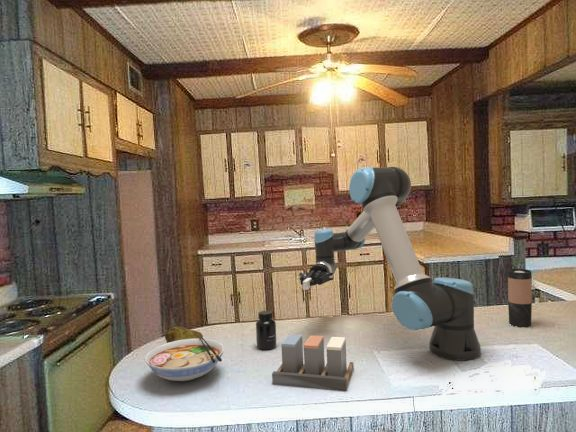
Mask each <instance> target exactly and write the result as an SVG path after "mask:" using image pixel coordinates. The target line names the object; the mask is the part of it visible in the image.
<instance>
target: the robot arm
mask: <svg viewBox="0 0 576 432" xmlns="http://www.w3.org/2000/svg"><path fill="white" fill-rule="evenodd" d="M348 190H349V196H350V198H351V200H352V202H354V203H356V204H359V205H361V207H362V210H363V211H362V212H361V213H360V214H359V216H358V217H357V218H356V219H355V220H354V221H353V223H352V224H350V226H349V227H348V228H347V229H346V230H345V231H344V232H342V231H341V232H333V230H332V228H331V229H330V228H329V229H328V228H325V229H318V230H315V231H314V236H313V237H314V241H313V242H314V250H315V264H314V265H312V266H311V267H310V268H309V270H308V272H306V273H305V272H304V273H302V272H299V273H298V275H299V276H298V277H299V281H300V285H301V286H302V289H303V290H305V291H306V290H307V291H308V290H309V289H311V288H312V287H313V286H316V285H317V286H321V285H323V284H326V283H327V282H330V281H333V280H334V274H335V273H336V271H337V263H336V260H335V253H337V252H344V251H349V250H350V251H351V250H358V249H361V248H363V247H364V245H365V242H366V237H367V236H368V235H369V234H370V233H371V232H372V231H373V230H374V229H375V230H376V232H377V233H376V234H377V235H378V238H379V241H380V243H381V246H382V249H383V252H384V254H385V257H386V260H387V261H388V262H387V263H388V264H389V267H390V269H391V272H392V275H393V277H394V280H395V285H394V288H393V292H394V296H392V301H391V303H392V304H391V309H392V312H393V315H394V317H395V319H396V320H397V322H398V323H399V324H401V325H402V326H403V327H405V328H406V329H407V330H410V331H419V330H426V329H429V328H431V327H433V330H432V332H431V337H430V338H429V343H428V344H429V345H428V346H429V348H428V349H429V350H428V351H431V352H432V353H431V352H430V353H431V354H432V355H434V354H435V355H434V356H436V355H437V356H436V357H438V356H439V357H438V358H441V357H443V358H442V359H445V358H446V359H445V360H452V361H470V360H475V359H478V358H479V357H480V356H481V353H482V352H481V351H482V350H481V345H480V342H479V338H478V336H477V333H476V329H475V315H474V313H475V306H474V305H475V301H474V298H475V297H474V296H475V294H474V285H473V283H472V282H470V281H468V280H465V279H460V278H452V277H434V279H433V280H432V278H431V276H429V275H427V274H425V273H424V272H423V269H422V266H421V264H420V262H419V260H418V257H417V255H416V252H415V250H414V248H413V247H414V246H413V245H412V242H411V240H410V238H409V236H408V233H407V230H406V228H405V226H404V223H403V220H402V218H401V215H400V213H399V210H398V209H397V208H398V207H400V206H402V204H403V203H404V202H405V201H406V200H407V198H408V197H409V195H410V193H411V190H412V181H411V178H410V176H409V174H408V172H406V171H405V170H404V169H402V168H400V167H397V166H383V167H382V166H380V167H379V166H378V167H377V166H375V167H371V166H367V167H362V168H359V169H357V170H355V172H354V173H353V174H352V176H351V178H350V182H349V187H348Z"/></svg>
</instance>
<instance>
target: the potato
mask: <svg viewBox="0 0 576 432" xmlns="http://www.w3.org/2000/svg"><path fill="white" fill-rule="evenodd" d="M199 334H200V335H201V336H202V338H203V339H204V336H203V334H202V333H201V332H200V331H198V330H194V329H193V330H192V329H187V328H184V326H183V327H182V326H172V327H171V328H169V329H167V330H166V332H165V334H164V338H165V341H166V343H169V342H173V341H177V340H184V339H194V338H195V339H200V338H201V336H200V335H199ZM198 335H199V337H200V338H199V337H198ZM202 338H201V339H202Z"/></svg>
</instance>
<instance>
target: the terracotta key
mask: <svg viewBox="0 0 576 432" xmlns="http://www.w3.org/2000/svg"><path fill="white" fill-rule="evenodd" d="M303 365H304V367H305V374H312V375H321V374H322V372H323V370H324V368H325V366H326V363H325V339H324V335H310V336H309V337H308V338H307V340H306V341H305V342H304V344H303Z"/></svg>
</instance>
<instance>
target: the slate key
mask: <svg viewBox="0 0 576 432" xmlns="http://www.w3.org/2000/svg"><path fill="white" fill-rule="evenodd" d="M303 343H304V342H303V334H295V333H294V334H288V335H287V336H286V337H285V339H284V340H283V341H282V343H281V345H280V347H281V364H282V368H283V372H288V373H299V371H300V370H301V368H302V367H303V365H304V344H303Z"/></svg>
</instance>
